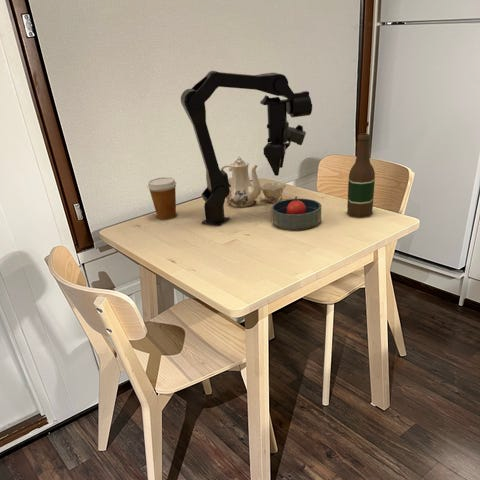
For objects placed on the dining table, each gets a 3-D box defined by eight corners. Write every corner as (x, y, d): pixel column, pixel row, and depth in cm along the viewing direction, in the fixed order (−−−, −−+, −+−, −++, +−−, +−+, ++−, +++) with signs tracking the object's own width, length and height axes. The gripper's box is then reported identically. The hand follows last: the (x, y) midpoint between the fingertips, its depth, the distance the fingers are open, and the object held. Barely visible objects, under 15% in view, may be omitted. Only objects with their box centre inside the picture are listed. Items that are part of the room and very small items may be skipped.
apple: (301, 223, 149) (301, 200, 145) (283, 221, 151) (283, 198, 148) (309, 217, 153) (309, 194, 149) (291, 215, 156) (291, 192, 152)
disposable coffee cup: (178, 220, 162) (173, 184, 155) (150, 222, 162) (144, 186, 156) (182, 210, 170) (177, 176, 163) (155, 212, 170) (149, 177, 164)
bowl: (309, 233, 144) (309, 217, 141) (263, 227, 151) (263, 211, 148) (328, 216, 155) (328, 201, 152) (284, 211, 161) (284, 196, 159)
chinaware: (292, 202, 173) (294, 153, 166) (269, 212, 161) (270, 160, 153) (227, 194, 187) (225, 148, 179) (201, 203, 174) (198, 155, 167)
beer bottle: (372, 218, 151) (378, 136, 138) (346, 217, 152) (350, 137, 140) (371, 209, 157) (377, 131, 145) (347, 209, 159) (350, 132, 146)
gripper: (300, 124, 138) (301, 179, 146) (306, 112, 153) (306, 163, 162) (262, 126, 140) (264, 180, 148) (271, 114, 156) (273, 164, 164)
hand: (278, 171), depth 156 cm, fingers open, 9 cm apart
